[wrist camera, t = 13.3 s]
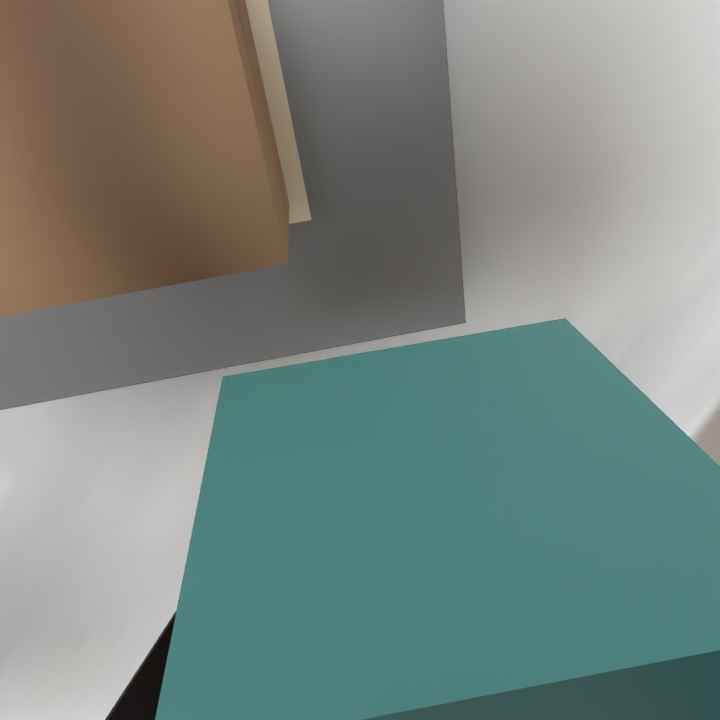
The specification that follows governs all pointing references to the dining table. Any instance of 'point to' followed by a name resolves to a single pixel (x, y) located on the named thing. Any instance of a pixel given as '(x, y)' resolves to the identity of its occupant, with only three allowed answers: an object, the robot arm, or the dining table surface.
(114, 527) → the dining table surface
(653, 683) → the teal block
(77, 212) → the walnut block
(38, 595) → the dining table surface
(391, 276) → the base plate
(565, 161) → the dining table surface
